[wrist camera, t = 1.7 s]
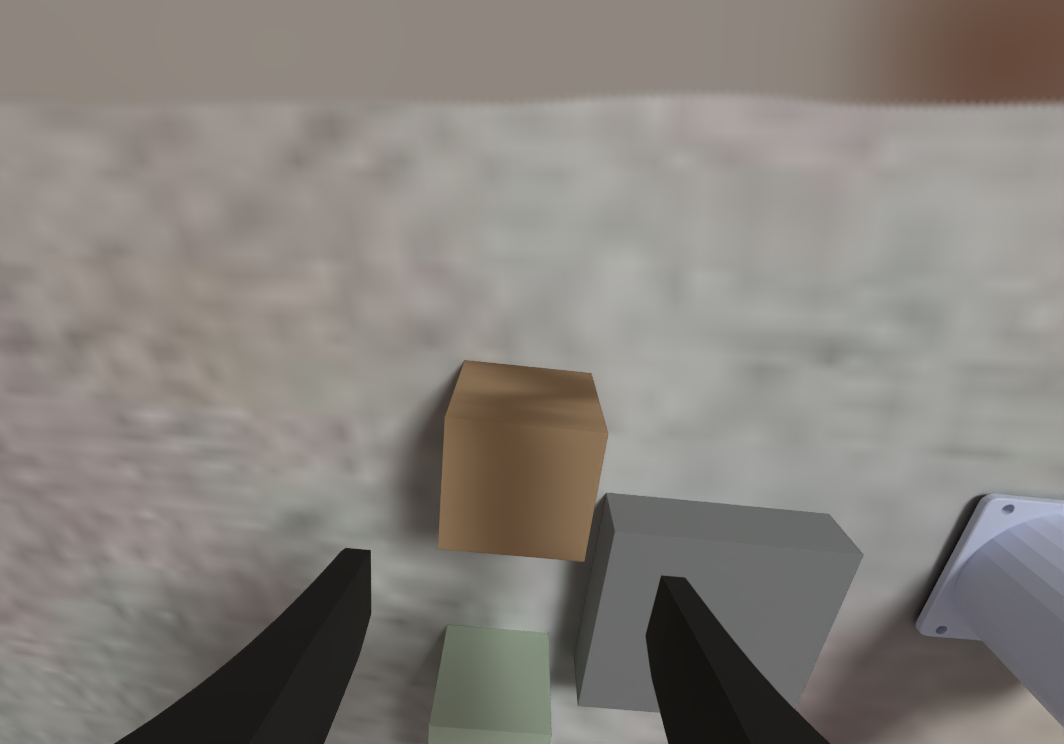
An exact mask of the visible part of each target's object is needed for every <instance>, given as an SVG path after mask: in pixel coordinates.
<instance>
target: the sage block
mask: <svg viewBox="0 0 1064 744" xmlns="http://www.w3.org/2000/svg"><path fill="white" fill-rule="evenodd" d="M551 736H552V728H551V698H550V668H549V638H548V633H543V632H531V631H519V630H507V629H495V628H483V627H470V626H458V625H447V630H446V635H445V641H444V646H443V652H442V657H441V662H440V668H439V673H438V679H437V684H436V690H435V695H434V700H433V706H432V711H431V717H430V722H429V732H428V744H550V742H551Z"/></svg>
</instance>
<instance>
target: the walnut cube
mask: <svg viewBox="0 0 1064 744" xmlns="http://www.w3.org/2000/svg"><path fill="white" fill-rule="evenodd" d="M607 438H608V431H607V427H606V424H605V420H604V416H603V413H602V409H601V406H600V402H599V399H598V395H597V392H596V388H595V384H594V381H593V377H592V374H591V373H585V372H575V371H565V370H556V369H546V368H536V367H526V366H517V365H507V364H497V363H487V362H478V361H468V360H465V361H464V364H463V366H462V369H461V372H460V375H459V378H458V381H457V384H456V387H455V389H454V392H453V395H452V398H451V401H450V404H449V407H448V410H447V412H446V415H445V423H444V442H443V461H442V480H441V500H440V519H439V538H438V549H445V550H456V551H467V552H479V553H490V554H502V555H513V556H524V557H536V558H547V559H558V560H570V561H581V562H584V561H585V555H586V550H587V545H588V539H589V534H590V529H591V523H592V518H593V513H594V507H595V502H596V497H597V491H598V486H599V480H600V475H601V470H602V464H603V459H604V454H605V448H606V443H607Z"/></svg>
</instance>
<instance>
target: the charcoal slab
mask: <svg viewBox="0 0 1064 744" xmlns="http://www.w3.org/2000/svg"><path fill="white" fill-rule="evenodd" d="M862 557H863V553H862V552H861V551H860V550H859V549H858V547H857V546H856V545H855V544H854V543H853V542H852V540H851V539H850V538H849V537H848V536H847V534H846V533H845V532H844V531H843V530H842V529H841V527H840V526H839V525H838V524H837V523H836V521H835V520H834V519H833V518H832V517H831V515H830V514H824V513H814V512H803V511H793V510H782V509H772V508H761V507H751V506H740V505H730V504H720V503H709V502H699V501H688V500H678V499H667V498H657V497H646V496H636V495H625V494H615V493H606V497H605V502H604V507H603V513H602V518H601V523H600V528H599V533H598V538H597V543H596V548H595V553H594V558H593V563H592V568H591V573H590V578H589V583H588V588H587V593H586V598H585V603H584V608H583V613H582V618H581V623H580V628H579V633H578V638H577V643H576V648H575V653H574V665H575V677H576V689H577V702H578V706H584V707H597V708H609V709H622V710H634V711H647V712H659V713H660V710H659V706H658V702H657V698H656V694H655V690H654V686H653V682H652V678H651V672H650V665H649V659H648V651H647V644H646V637H645V635H646V631H647V627H648V623H649V620H650V616H651V612H652V608H653V604H654V601H655V597H656V593H657V589H658V585H659V582H660V578H661V575H663V576H675V577H685V578H686V579H687V580H688V582H689V583H690V584H691V586H692V587H693V588H694V589H695V591H696V592H697V593H698V595H699V596H700V597H701V599H702V600H703V601H704V603H705V604H706V605H707V607H708V608H709V609H710V611H711V612H712V613H713V614H714V616H715V617H716V618H717V620H718V621H719V622H720V624H721V625H722V626H723V627H724V629H725V630H726V631H727V632H728V634H729V635H730V636H731V637H732V639H733V640H734V641H735V642H736V644H737V645H738V646H739V647H740V648H741V650H742V651H743V652H744V653H745V655H746V656H747V657H748V658H749V659H750V661H751V662H752V663H753V664H754V665H755V667H756V668H757V669H758V670H759V671H760V672H761V673H762V674H763V676H764V677H765V678H766V679H767V680H768V681H769V682H770V683H771V685H772V686H773V687H774V688H775V689H776V690H777V691H778V692H779V693H780V694H781V696H782V697H783V698H784V699H785V700H786V701H787V702H788V703H789V704H790V705H791V706H792V707H793V708H794V709H795V708H796V706H797V703H798V701H799V699H800V697H801V694H802V692H803V690H804V688H805V685H806V683H807V681H808V679H809V676H810V674H811V672H812V670H813V668H814V665H815V663H816V661H817V659H818V656H819V654H820V652H821V650H822V647H823V645H824V643H825V641H826V638H827V636H828V634H829V632H830V629H831V627H832V625H833V623H834V620H835V618H836V616H837V614H838V611H839V609H840V607H841V605H842V602H843V600H844V598H845V596H846V593H847V591H848V589H849V587H850V584H851V582H852V580H853V578H854V575H855V573H856V571H857V569H858V566H859V564H860V562H861V560H862Z"/></svg>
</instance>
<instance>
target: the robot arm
mask: <svg viewBox="0 0 1064 744" xmlns="http://www.w3.org/2000/svg"><path fill="white" fill-rule="evenodd" d="M370 616H371V550H362V549H351V548H345V549H344V550H342V551H341V552H340V553H339V554H338V555H337V556H336V558H335V559H334V560H333V561H332V562H331V563H330V564H329V565H328V566H327V568H326V569H325V570H324V571H323V572H322V573H321V574H320V575H319V576H318V577H317V578H316V579H315V580H314V582H313V583H312V584H311V585H310V586H309V587H308V588H307V589H306V590H305V591H304V592H303V593H302V594H301V595H300V596H299V597H298V598H297V599H296V600H295V601H294V602H293V603H292V604H291V605H290V606H289V607H288V608H287V609H286V610H285V611H284V612H283V613H282V614H281V615H280V616H279V617H278V618H277V619H276V620H275V621H274V622H272V623H271V624H270V625H269V626H268V627H267V628H266V629H265V630H264V631H263V632H262V633H260V634H259V635H258V636H257V637H256V638H255V639H254V640H253V641H252V642H251V643H249V644H248V645H247V646H246V647H245V648H244V649H243V650H241V651H240V652H239V653H238V654H237V655H236V656H234V657H233V658H232V659H231V660H230V661H228V662H227V663H226V664H225V665H224V666H222V667H221V668H220V669H219V670H217V671H216V672H215V673H214V674H212V675H211V676H210V677H209V678H207V679H206V680H205V681H204V682H202V683H201V684H200V685H198V686H197V687H196V688H194V689H193V690H192V691H190V692H189V693H187V694H186V695H185V696H183V697H182V698H181V699H179V700H178V701H177V702H175V703H174V704H173V705H171V706H170V707H168V708H167V709H166V710H164V711H163V712H161V713H160V714H159V715H157V716H156V717H154V718H153V719H151V720H150V721H148V722H147V723H145V724H144V725H142V726H141V727H139V728H138V729H136V730H135V731H133V732H132V733H130V734H128V735H127V736H125V737H124V738H122V739H121V740H119V741H118V742H116V743H114V744H324V742H325V740H326V737H327V735H328V732H329V730H330V727H331V725H332V722H333V720H334V718H335V715H336V713H337V710H338V708H339V705H340V703H341V700H342V698H343V695H344V693H345V690H346V688H347V685H348V683H349V680H350V678H351V675H352V673H353V670H354V668H355V665H356V663H357V660H358V658H359V655H360V651H361V648H362V644H363V641H364V638H365V634H366V630H367V627H368V623H369V620H370ZM915 626H916V628H917V629H918V631H919V632H920V633H921V634H922V635H925V636H932V637H944V638H956V639H968V640H980V641H982V642H983V643H984V644H985V645H986V646H987V647H988V648H989V649H990V650H991V651H992V652H993V653H994V654H995V655H996V656H997V658H998V659H999V660H1000V661H1001V662H1002V663H1003V664H1004V665H1005V666H1006V667H1007V668H1008V669H1009V670H1010V671H1011V672H1012V673H1013V675H1014V676H1015V677H1016V678H1017V679H1018V680H1019V681H1020V682H1021V683H1022V684H1023V685H1024V686H1025V687H1026V688H1027V689H1028V690H1029V692H1030V693H1031V694H1032V695H1033V696H1034V697H1035V698H1036V699H1037V700H1038V701H1039V702H1040V703H1041V704H1042V705H1043V706H1044V707H1045V709H1046V710H1047V711H1048V712H1049V713H1050V714H1051V715H1052V716H1053V717H1054V718H1055V719H1056V720H1057V721H1058V722H1059V723H1060V724H1061V726H1062V727H1063V728H1064V500H1055V499H1044V498H1034V497H1024V496H1013V495H1003V494H989V495H986V496H985V497H983V498H982V499H981V500H980V501H979V503H978V505H977V507H976V509H975V511H974V513H973V515H972V516H971V518H970V520H969V522H968V524H967V526H966V528H965V530H964V532H963V534H962V536H961V537H960V539H959V541H958V543H957V545H956V547H955V549H954V551H953V553H952V555H951V556H950V558H949V560H948V562H947V564H946V566H945V568H944V570H943V572H942V574H941V576H940V577H939V579H938V581H937V583H936V585H935V587H934V589H933V591H932V593H931V595H930V597H929V598H928V600H927V602H926V604H925V606H924V608H923V610H922V612H921V614H920V616H919V618H918V619H917V621H916V625H915ZM645 637H646V644H647V651H648V659H649V665H650V672H651V678H652V682H653V686H654V690H655V694H656V698H657V702H658V706H659V710H660V714H661V717H662V721H663V725H664V729H665V732H666V736H667V740H668V744H830V743H829V742H828V741H827V740H826V739H825V738H824V737H822V736H821V735H820V734H819V733H818V732H817V731H816V730H815V729H814V728H813V727H812V726H811V725H810V724H809V723H808V722H807V721H806V720H805V719H804V718H803V717H802V716H801V715H800V714H799V713H798V712H797V711H796V710H795V709H794V708H793V707H792V706H791V705H790V704H789V703H788V702H787V701H786V700H785V699H784V698H783V697H782V696H781V694H780V693H779V692H778V691H777V690H776V689H775V688H774V687H773V686H772V685H771V683H770V682H769V681H768V680H767V679H766V678H765V677H764V676H763V674H762V673H761V672H760V671H759V670H758V669H757V668H756V667H755V665H754V664H753V663H752V662H751V661H750V659H749V658H748V657H747V656H746V655H745V653H744V652H743V651H742V650H741V648H740V647H739V646H738V645H737V644H736V642H735V641H734V640H733V639H732V637H731V636H730V635H729V634H728V632H727V631H726V630H725V629H724V627H723V626H722V625H721V624H720V622H719V621H718V620H717V618H716V617H715V616H714V614H713V613H712V612H711V611H710V609H709V608H708V607H707V605H706V604H705V603H704V601H703V600H702V599H701V597H700V596H699V595H698V593H697V592H696V591H695V589H694V588H693V587H692V586H691V584H690V583H689V582H688V580H687V579H686V578H685V577H675V576H663V575H661V578H660V582H659V585H658V589H657V593H656V597H655V601H654V604H653V608H652V612H651V616H650V620H649V623H648V627H647V631H646V635H645Z"/></svg>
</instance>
